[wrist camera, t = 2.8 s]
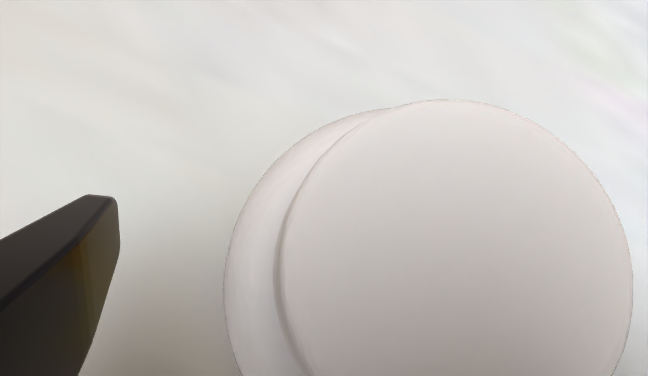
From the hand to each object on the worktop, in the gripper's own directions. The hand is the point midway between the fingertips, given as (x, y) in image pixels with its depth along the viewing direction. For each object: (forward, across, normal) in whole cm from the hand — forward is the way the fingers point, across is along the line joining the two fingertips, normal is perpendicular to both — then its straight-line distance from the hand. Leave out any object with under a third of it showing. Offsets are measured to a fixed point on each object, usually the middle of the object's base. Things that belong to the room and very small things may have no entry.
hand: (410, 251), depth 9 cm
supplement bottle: (+5, 0, +6) cm, 8 cm away
